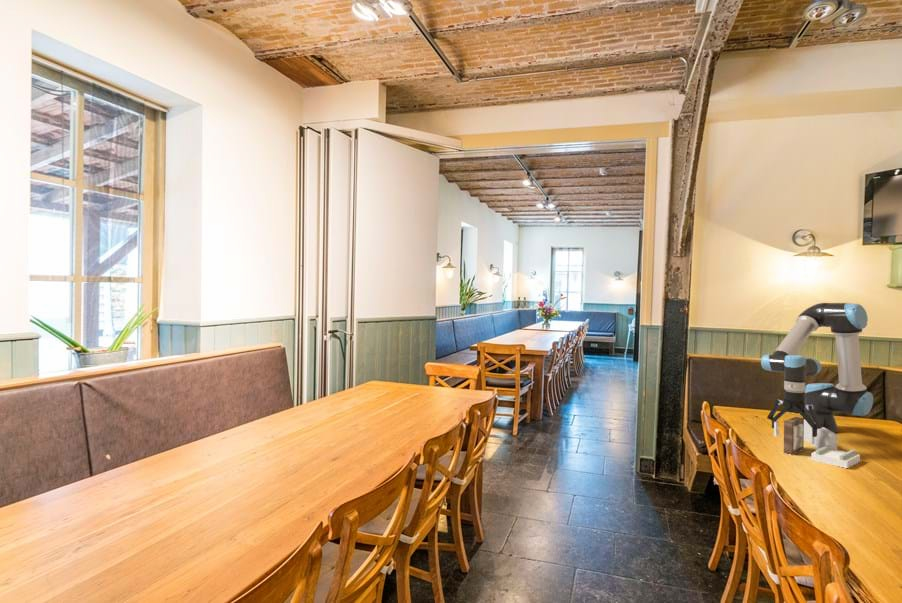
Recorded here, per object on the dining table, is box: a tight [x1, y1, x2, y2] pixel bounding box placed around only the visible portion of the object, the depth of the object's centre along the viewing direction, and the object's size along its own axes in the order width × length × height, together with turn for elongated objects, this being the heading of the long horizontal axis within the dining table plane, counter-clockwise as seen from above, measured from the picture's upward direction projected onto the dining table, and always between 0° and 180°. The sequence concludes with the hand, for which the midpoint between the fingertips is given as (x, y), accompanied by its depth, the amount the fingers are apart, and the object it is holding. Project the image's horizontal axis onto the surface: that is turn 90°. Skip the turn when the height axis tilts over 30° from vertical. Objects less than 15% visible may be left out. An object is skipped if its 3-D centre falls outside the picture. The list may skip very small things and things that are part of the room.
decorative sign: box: [804, 419, 838, 450], centre depth 222 cm, size 32×4×10 cm, turn 166°
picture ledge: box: [810, 445, 861, 469], centre depth 201 cm, size 14×12×4 cm
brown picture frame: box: [783, 416, 804, 456], centre depth 213 cm, size 12×4×14 cm, turn 124°
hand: (793, 440), depth 213 cm, fingers open, 13 cm apart
